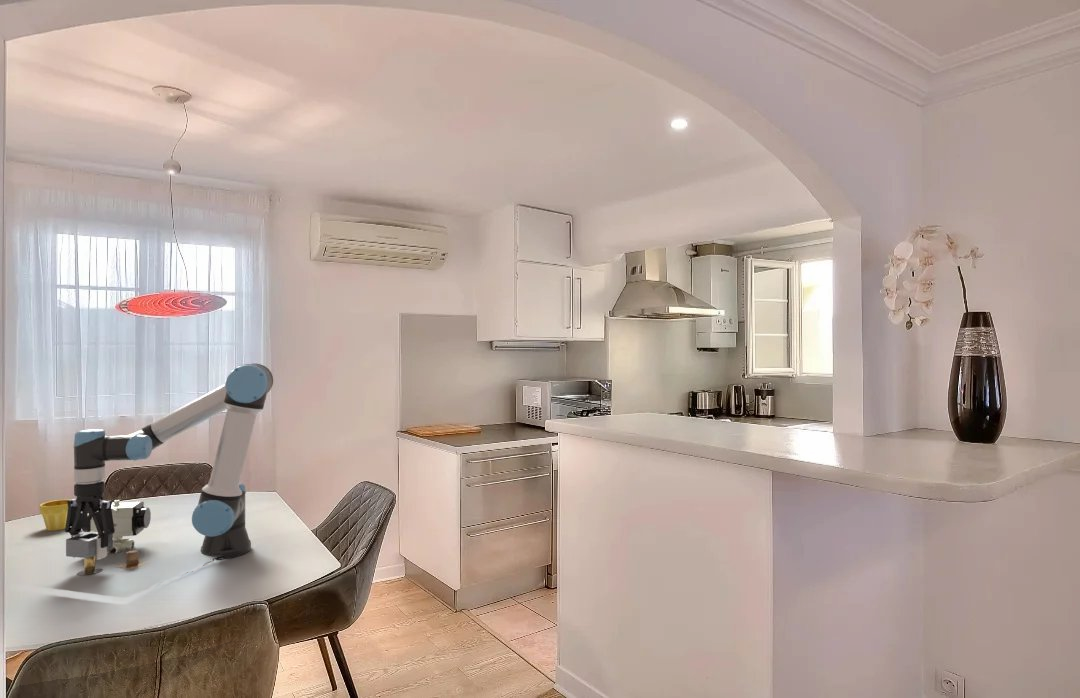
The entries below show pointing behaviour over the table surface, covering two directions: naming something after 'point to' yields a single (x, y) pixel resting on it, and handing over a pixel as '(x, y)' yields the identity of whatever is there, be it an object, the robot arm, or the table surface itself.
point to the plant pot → (54, 514)
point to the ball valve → (123, 523)
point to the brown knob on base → (132, 560)
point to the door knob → (89, 567)
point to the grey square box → (85, 545)
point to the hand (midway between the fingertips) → (89, 556)
